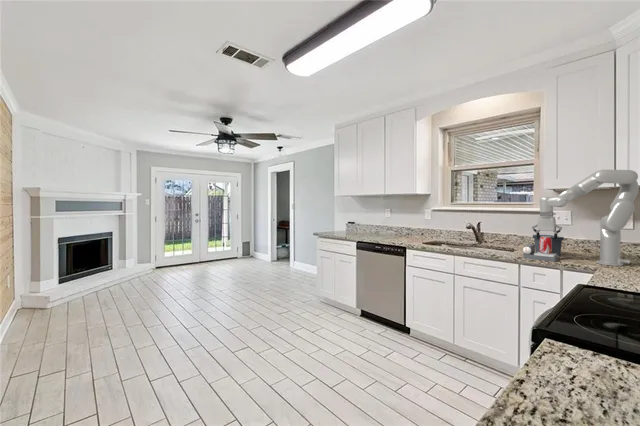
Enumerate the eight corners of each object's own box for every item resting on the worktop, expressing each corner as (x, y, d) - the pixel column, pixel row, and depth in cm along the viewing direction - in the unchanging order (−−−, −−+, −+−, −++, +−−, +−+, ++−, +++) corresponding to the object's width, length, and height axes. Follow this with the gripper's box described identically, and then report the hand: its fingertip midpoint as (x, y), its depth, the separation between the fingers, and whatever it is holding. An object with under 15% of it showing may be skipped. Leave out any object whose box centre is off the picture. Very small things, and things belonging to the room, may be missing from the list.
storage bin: (529, 252, 247) (530, 234, 246) (550, 252, 245) (550, 234, 245) (546, 256, 225) (547, 237, 225) (569, 257, 224) (569, 237, 223)
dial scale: (558, 259, 216) (558, 246, 216) (554, 261, 207) (554, 248, 207) (527, 255, 230) (527, 243, 230) (522, 258, 221) (522, 245, 220)
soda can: (551, 254, 212) (551, 237, 211) (538, 253, 216) (539, 236, 216) (552, 253, 217) (552, 236, 216) (539, 252, 222) (540, 235, 221)
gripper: (563, 214, 212) (563, 239, 212) (533, 214, 224) (533, 237, 225) (560, 214, 207) (561, 240, 207) (530, 214, 219) (530, 238, 220)
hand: (546, 239), depth 216 cm, fingers open, 9 cm apart
